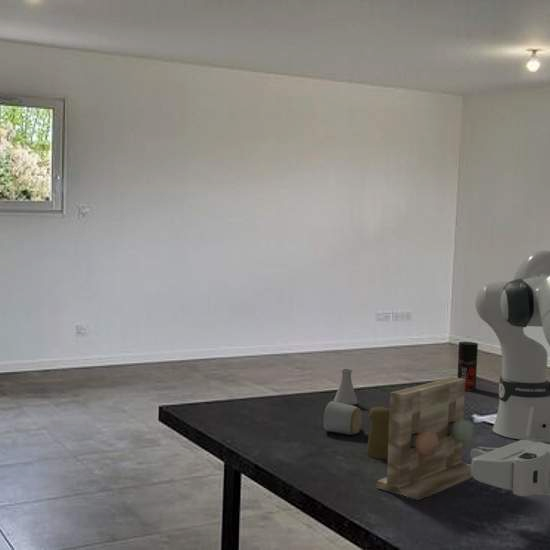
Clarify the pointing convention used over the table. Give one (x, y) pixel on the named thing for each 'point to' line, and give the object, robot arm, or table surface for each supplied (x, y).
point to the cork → (378, 433)
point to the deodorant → (468, 364)
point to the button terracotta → (425, 442)
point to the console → (432, 418)
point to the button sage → (461, 430)
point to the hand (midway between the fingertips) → (474, 451)
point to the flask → (346, 389)
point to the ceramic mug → (342, 418)
